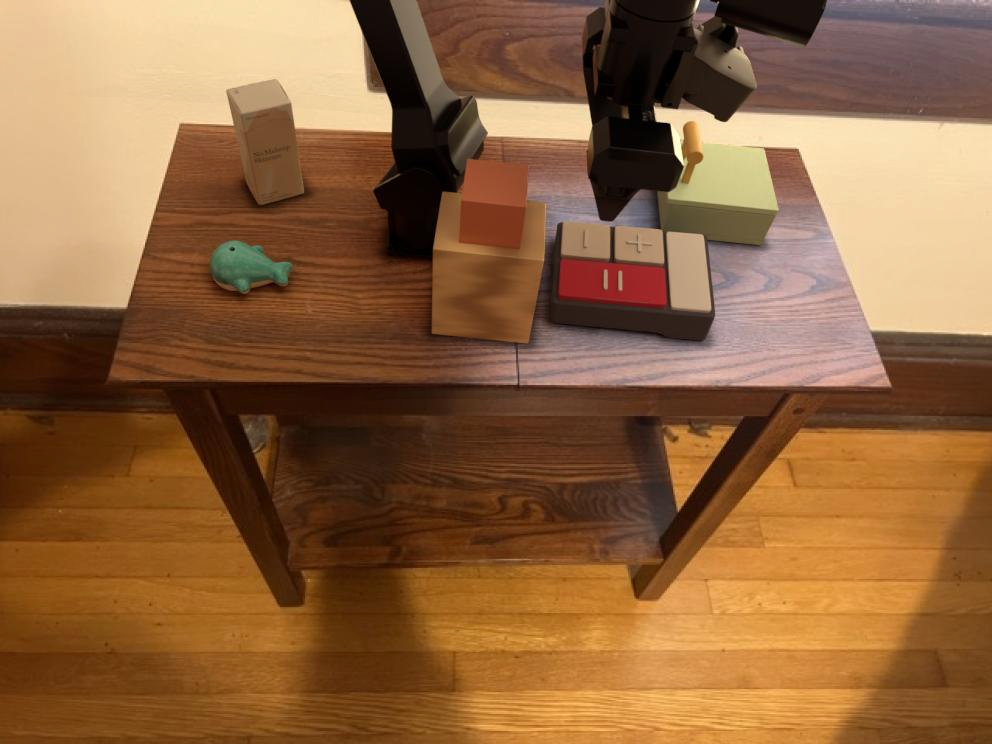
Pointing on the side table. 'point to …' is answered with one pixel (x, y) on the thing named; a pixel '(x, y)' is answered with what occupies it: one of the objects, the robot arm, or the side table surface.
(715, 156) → the lid
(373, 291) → the side table surface
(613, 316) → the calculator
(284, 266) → the whale figurine
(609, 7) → the robot arm
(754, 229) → the chest
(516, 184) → the block
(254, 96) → the box
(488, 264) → the stand
